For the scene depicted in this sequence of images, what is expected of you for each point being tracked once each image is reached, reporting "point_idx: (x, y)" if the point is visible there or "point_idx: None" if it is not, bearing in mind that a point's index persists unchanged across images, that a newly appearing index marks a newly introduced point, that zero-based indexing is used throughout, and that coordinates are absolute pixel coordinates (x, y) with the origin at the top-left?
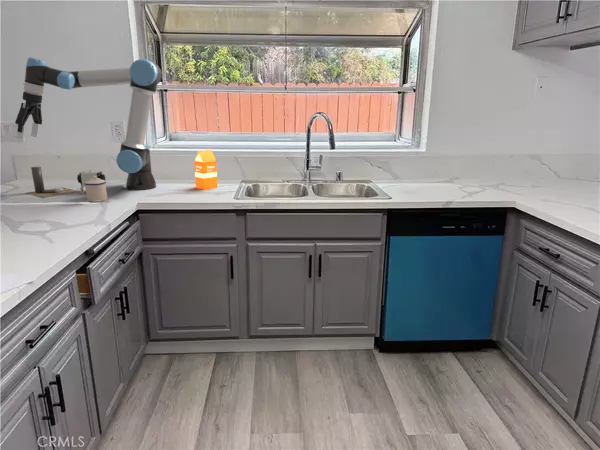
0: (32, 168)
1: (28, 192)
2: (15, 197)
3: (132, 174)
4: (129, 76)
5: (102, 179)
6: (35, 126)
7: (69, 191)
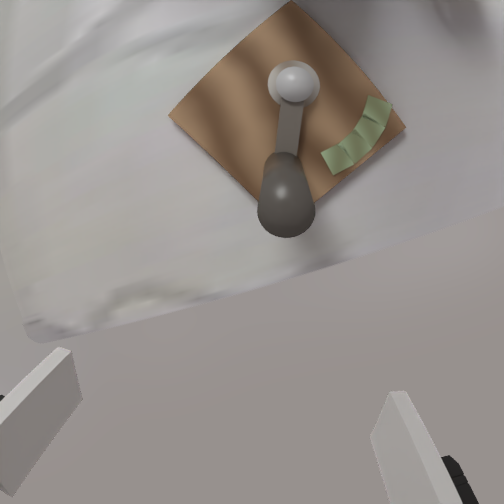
0: (311, 222)
1: None
2: (313, 242)
3: None
4: None
5: None
6: (13, 450)
7: (280, 46)
